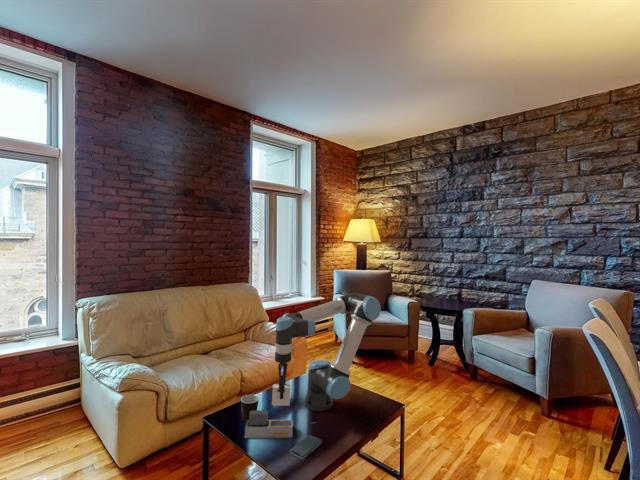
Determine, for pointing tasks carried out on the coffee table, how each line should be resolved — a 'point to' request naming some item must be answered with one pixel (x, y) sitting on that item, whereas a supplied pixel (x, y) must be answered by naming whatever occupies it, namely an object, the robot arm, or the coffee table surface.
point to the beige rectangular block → (276, 395)
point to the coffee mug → (248, 405)
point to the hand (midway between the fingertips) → (281, 402)
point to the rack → (267, 426)
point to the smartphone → (305, 447)
